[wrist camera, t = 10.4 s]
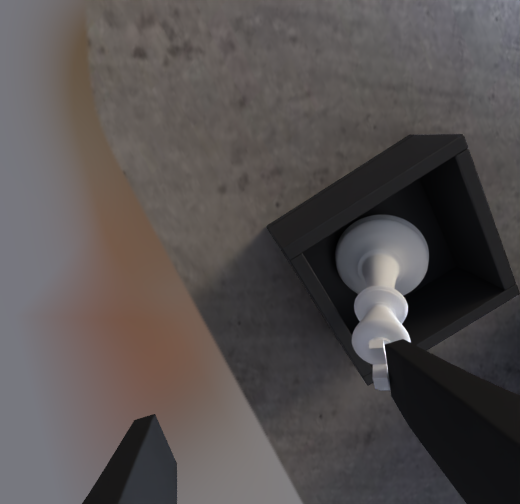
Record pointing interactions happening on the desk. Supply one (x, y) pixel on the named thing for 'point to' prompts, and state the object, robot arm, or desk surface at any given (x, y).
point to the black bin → (425, 220)
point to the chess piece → (381, 283)
